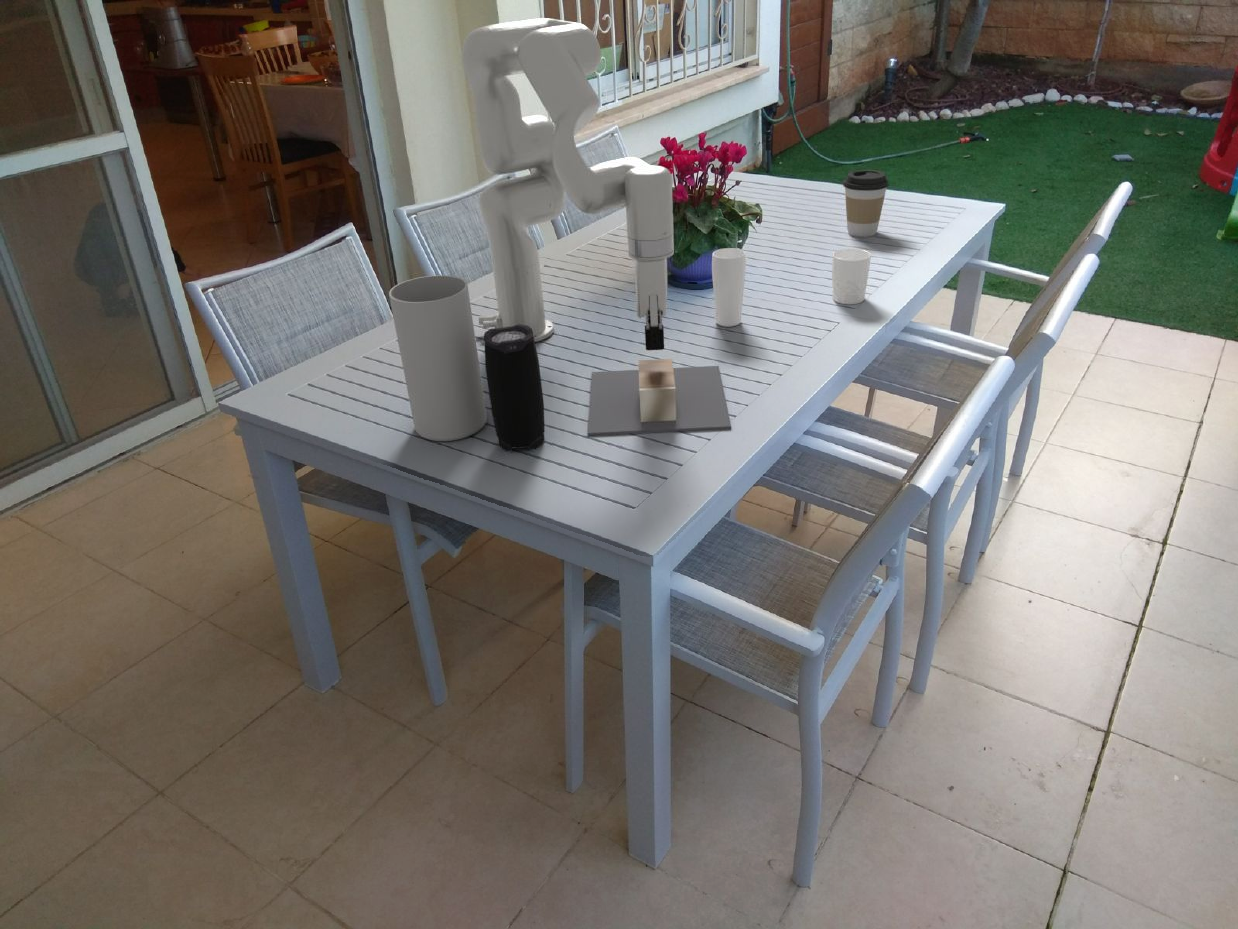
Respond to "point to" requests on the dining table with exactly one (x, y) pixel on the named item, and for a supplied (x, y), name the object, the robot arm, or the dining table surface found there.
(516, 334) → the portable speaker
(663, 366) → the wooden box
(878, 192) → the coffee cup
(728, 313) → the drinking glass
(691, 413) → the rubber mat
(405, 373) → the cylinder vase
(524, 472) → the dining table surface
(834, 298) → the white cup
